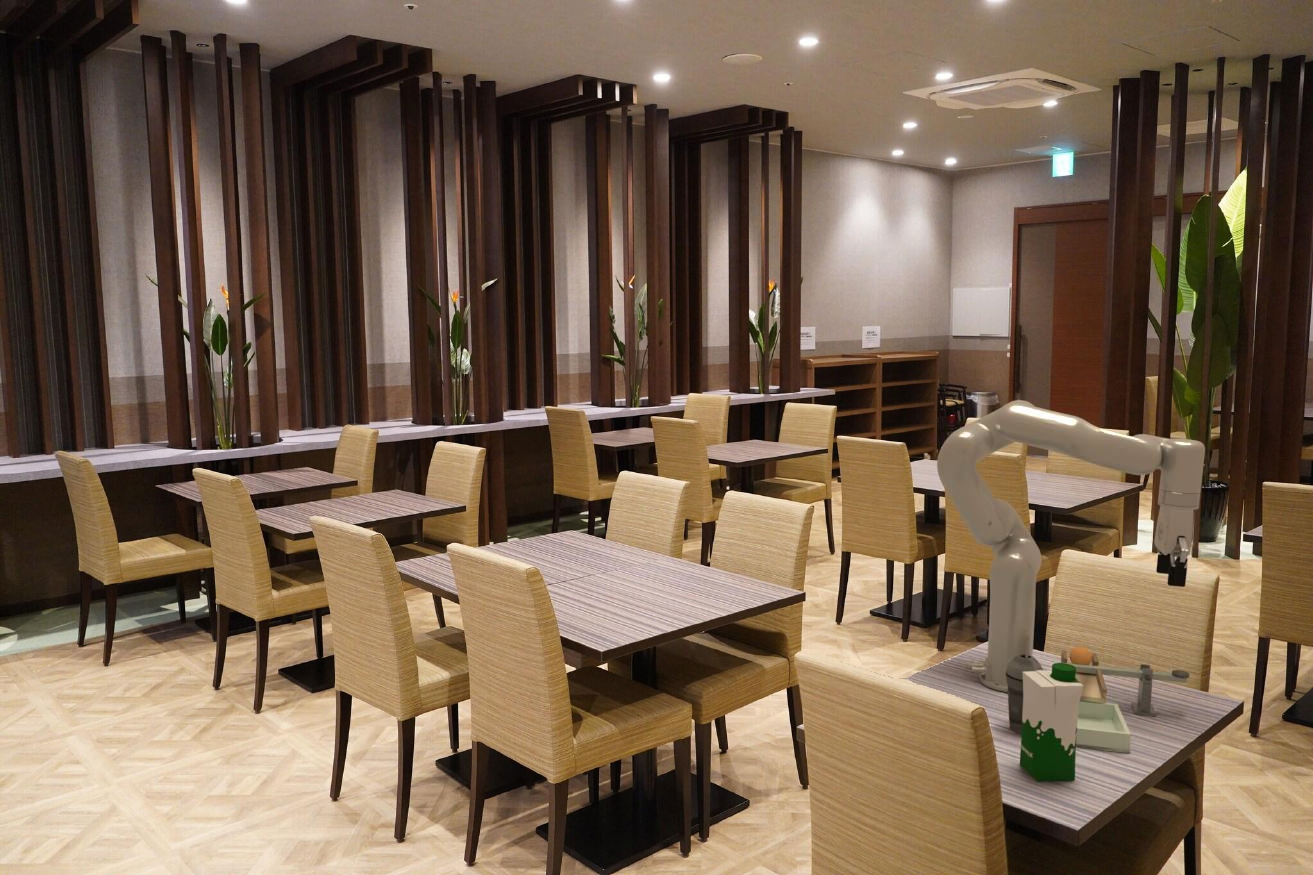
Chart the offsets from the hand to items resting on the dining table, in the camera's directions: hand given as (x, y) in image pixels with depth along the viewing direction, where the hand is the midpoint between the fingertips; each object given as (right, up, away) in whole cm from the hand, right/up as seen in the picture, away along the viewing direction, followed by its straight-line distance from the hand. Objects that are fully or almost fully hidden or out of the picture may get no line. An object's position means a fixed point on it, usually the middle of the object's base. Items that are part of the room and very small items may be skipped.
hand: (1170, 579), depth 205 cm
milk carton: (-36, -32, -25) cm, 54 cm away
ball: (-15, -18, +8) cm, 25 cm away
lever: (-8, -21, +3) cm, 22 cm away
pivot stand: (-4, -28, +3) cm, 29 cm away
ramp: (-17, -28, +4) cm, 33 cm away
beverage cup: (-34, -30, -7) cm, 45 cm away
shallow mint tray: (-21, -30, -9) cm, 37 cm away
